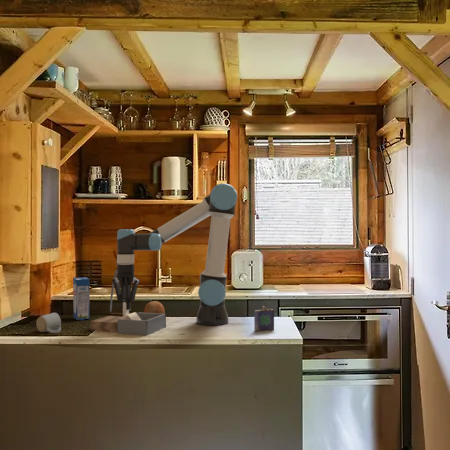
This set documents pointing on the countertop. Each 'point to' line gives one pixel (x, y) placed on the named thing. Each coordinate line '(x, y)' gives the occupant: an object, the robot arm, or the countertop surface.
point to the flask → (264, 319)
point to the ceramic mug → (49, 323)
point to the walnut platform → (106, 323)
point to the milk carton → (81, 298)
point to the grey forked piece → (113, 289)
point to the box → (142, 324)
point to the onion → (154, 308)
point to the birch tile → (132, 316)
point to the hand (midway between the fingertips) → (125, 316)
